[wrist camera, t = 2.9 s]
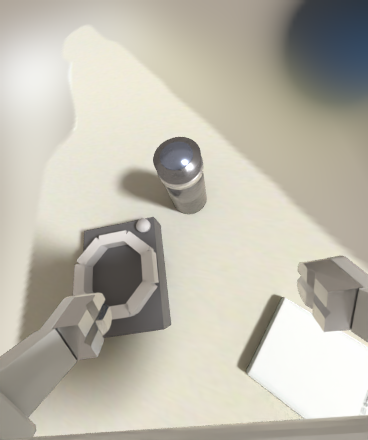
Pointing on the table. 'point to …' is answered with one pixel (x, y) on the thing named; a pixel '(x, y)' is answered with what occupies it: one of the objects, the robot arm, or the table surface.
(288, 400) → the external hard drive
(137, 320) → the octagonal socket base
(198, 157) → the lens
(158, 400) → the table surface
